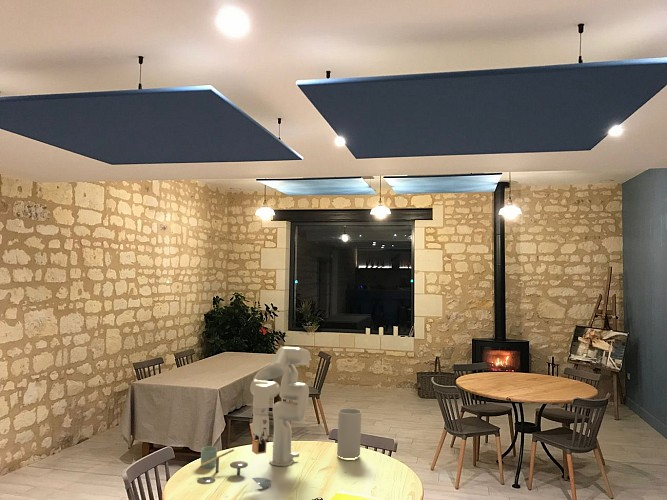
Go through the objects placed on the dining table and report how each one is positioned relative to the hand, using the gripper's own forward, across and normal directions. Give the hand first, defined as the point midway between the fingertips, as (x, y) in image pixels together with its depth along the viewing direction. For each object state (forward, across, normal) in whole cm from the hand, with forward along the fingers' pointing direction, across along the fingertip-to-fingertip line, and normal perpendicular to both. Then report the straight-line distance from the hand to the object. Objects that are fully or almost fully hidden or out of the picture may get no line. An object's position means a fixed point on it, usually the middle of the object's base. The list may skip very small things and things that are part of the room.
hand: (259, 449), depth 249 cm
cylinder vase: (+16, +13, -60) cm, 63 cm away
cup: (+17, +30, +14) cm, 37 cm away
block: (+1, 0, 0) cm, 1 cm away
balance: (+16, +15, +13) cm, 26 cm away
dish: (+16, 0, 0) cm, 16 cm away
